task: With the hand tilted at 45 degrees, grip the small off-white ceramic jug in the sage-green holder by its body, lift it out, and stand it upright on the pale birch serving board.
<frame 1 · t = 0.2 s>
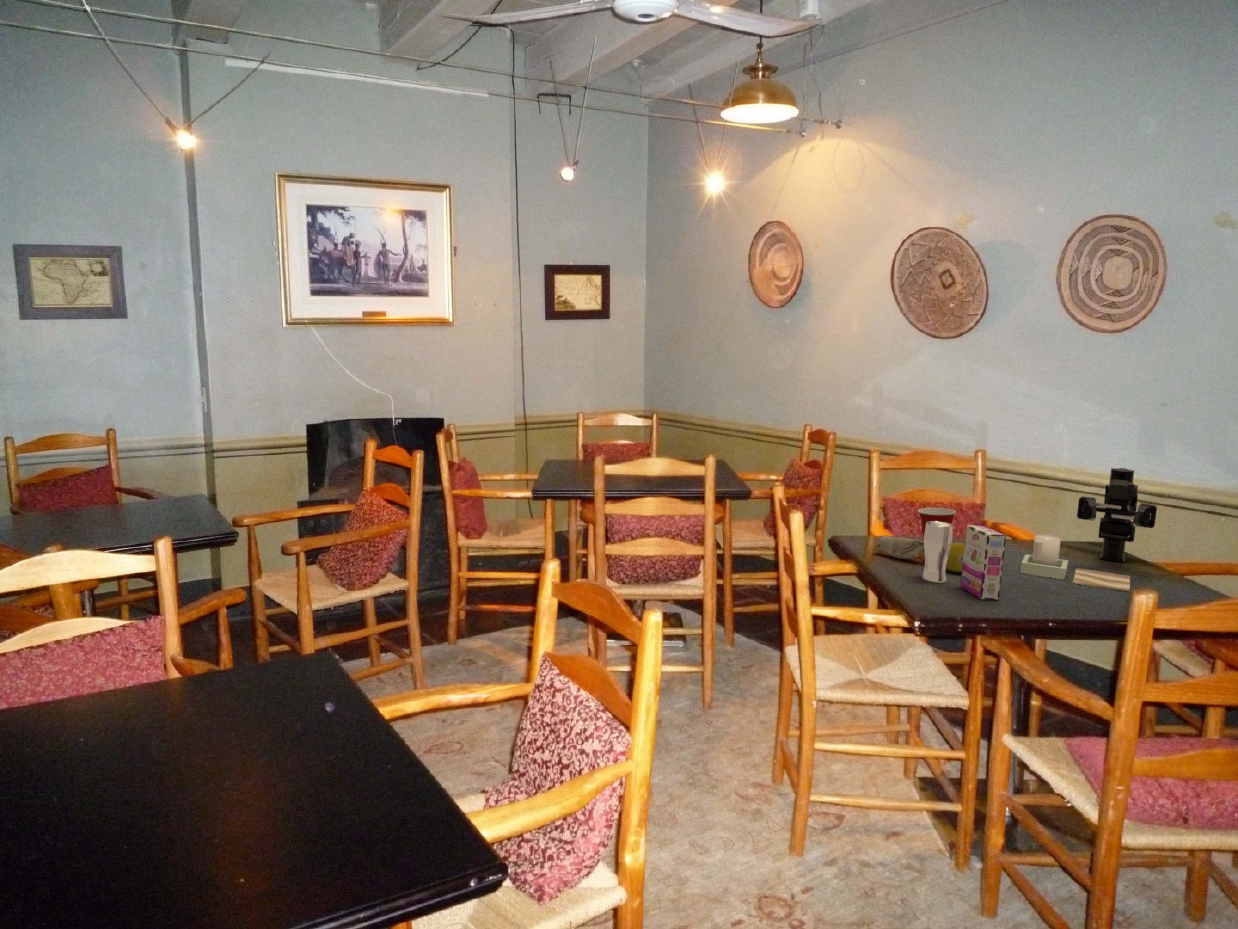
hand: (1114, 518, 232), 17 cm above the table, tool horizontal, fingers open, 9 cm apart
glass holder: (1043, 572, 239), on the table
candy bar box: (979, 594, 216), on the table
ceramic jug: (1044, 554, 237), in the glass holder
serving board: (1101, 580, 232), on the table
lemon: (957, 572, 236), on the table
beer glass: (934, 580, 227), on the table
plastic cup: (933, 549, 261), on the table
decorative bird: (901, 560, 247), on the table
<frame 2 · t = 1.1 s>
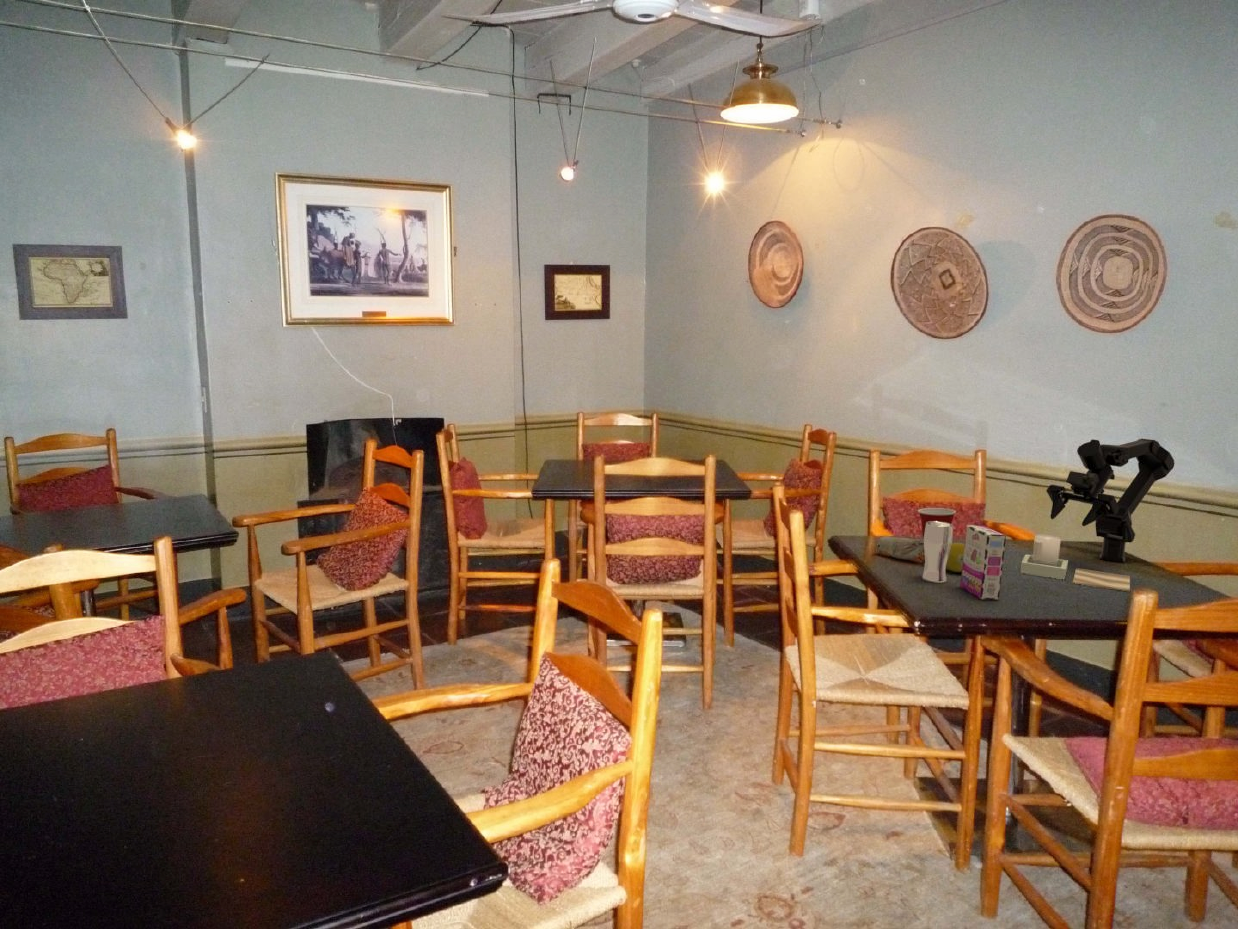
hand: (1066, 521, 240), 14 cm above the table, tool tilted 45°, fingers open, 9 cm apart
nothing on the table moved.
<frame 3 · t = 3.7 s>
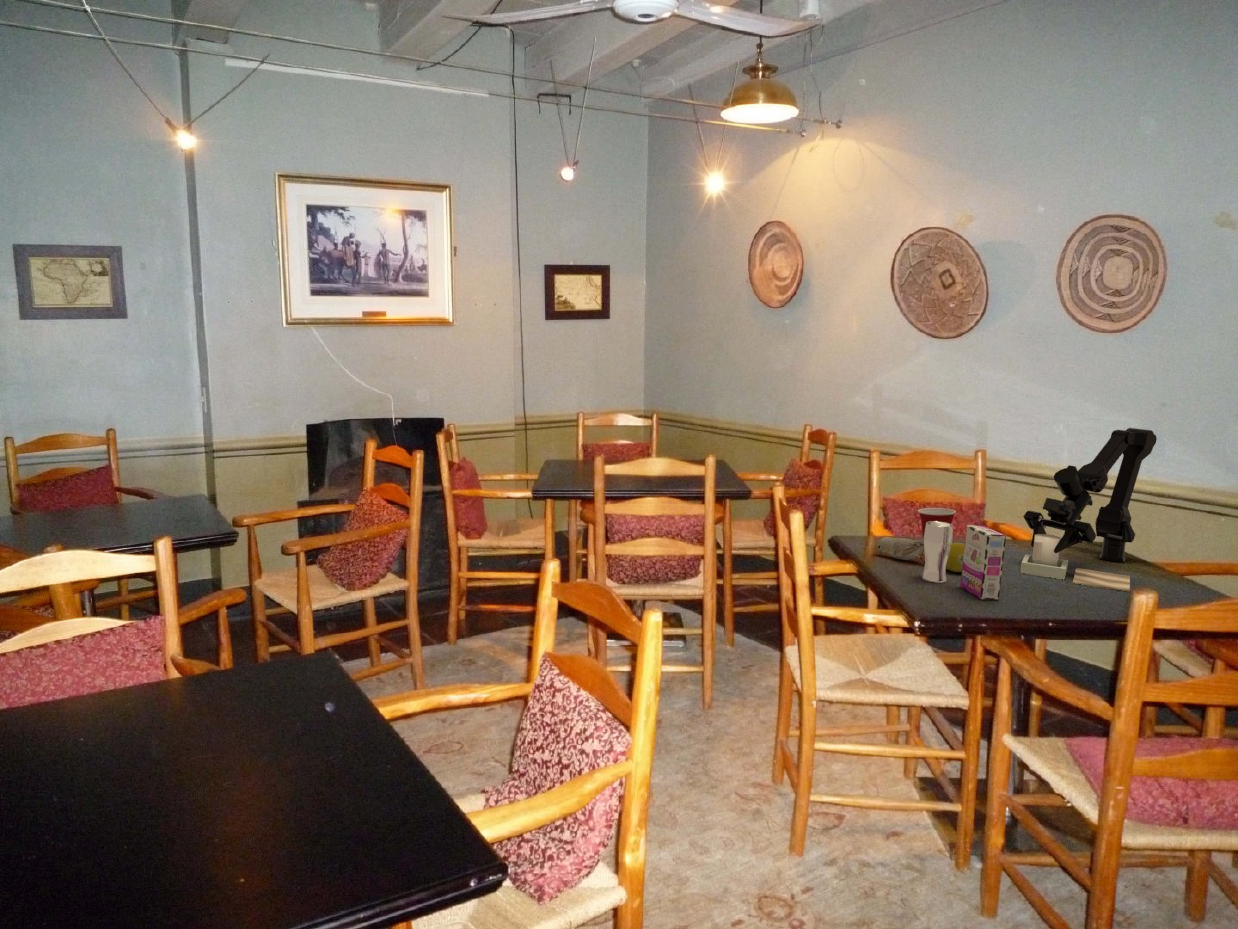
hand: (1043, 549, 237), 7 cm above the table, tool tilted 45°, fingers closed on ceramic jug, 6 cm apart
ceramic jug: (1044, 554, 237), in the glass holder, touching gripper
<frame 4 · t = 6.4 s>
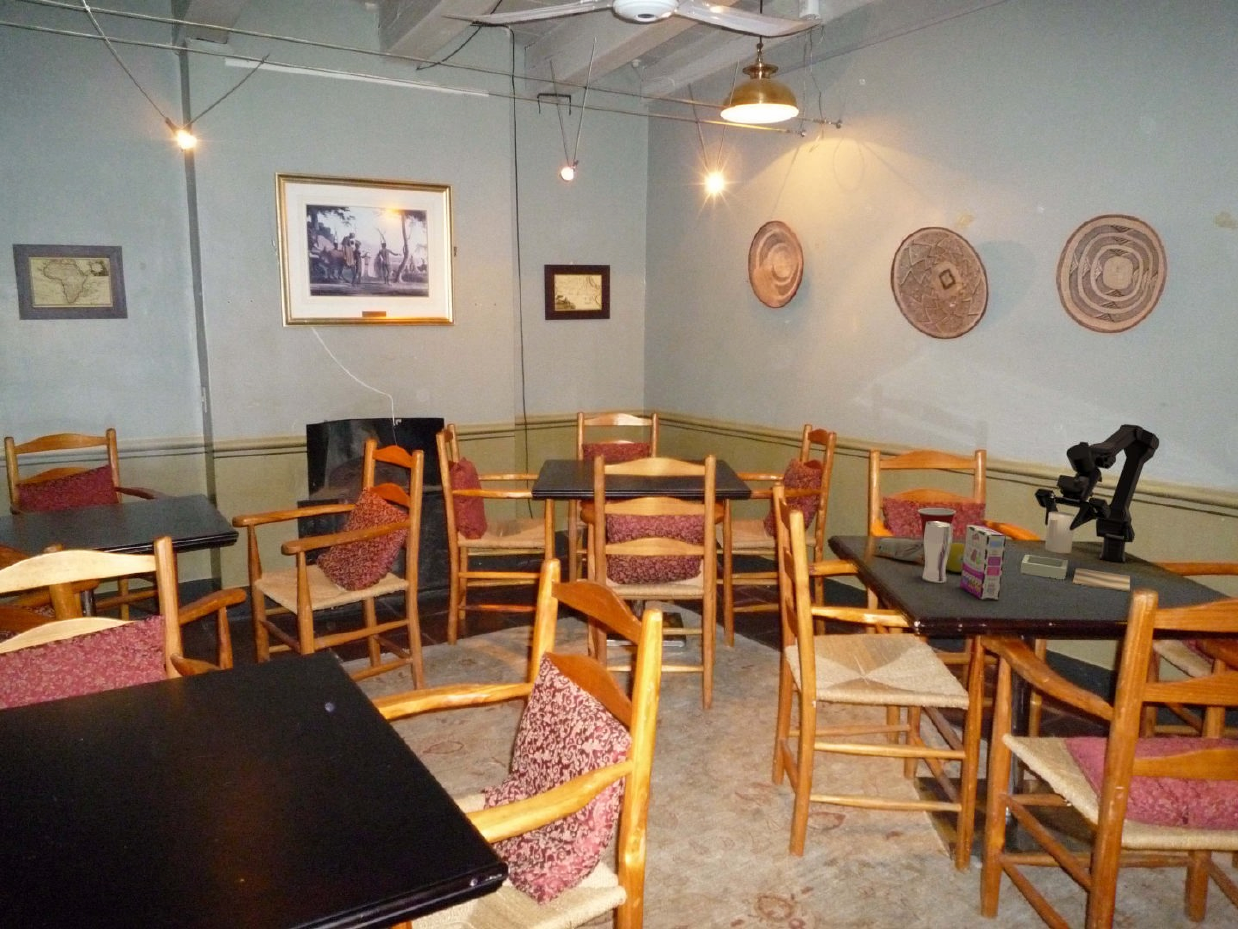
hand: (1058, 526, 234), 13 cm above the table, tool tilted 45°, fingers closed on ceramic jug, 6 cm apart
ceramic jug: (1058, 532, 234), point 12 cm above the table, touching gripper
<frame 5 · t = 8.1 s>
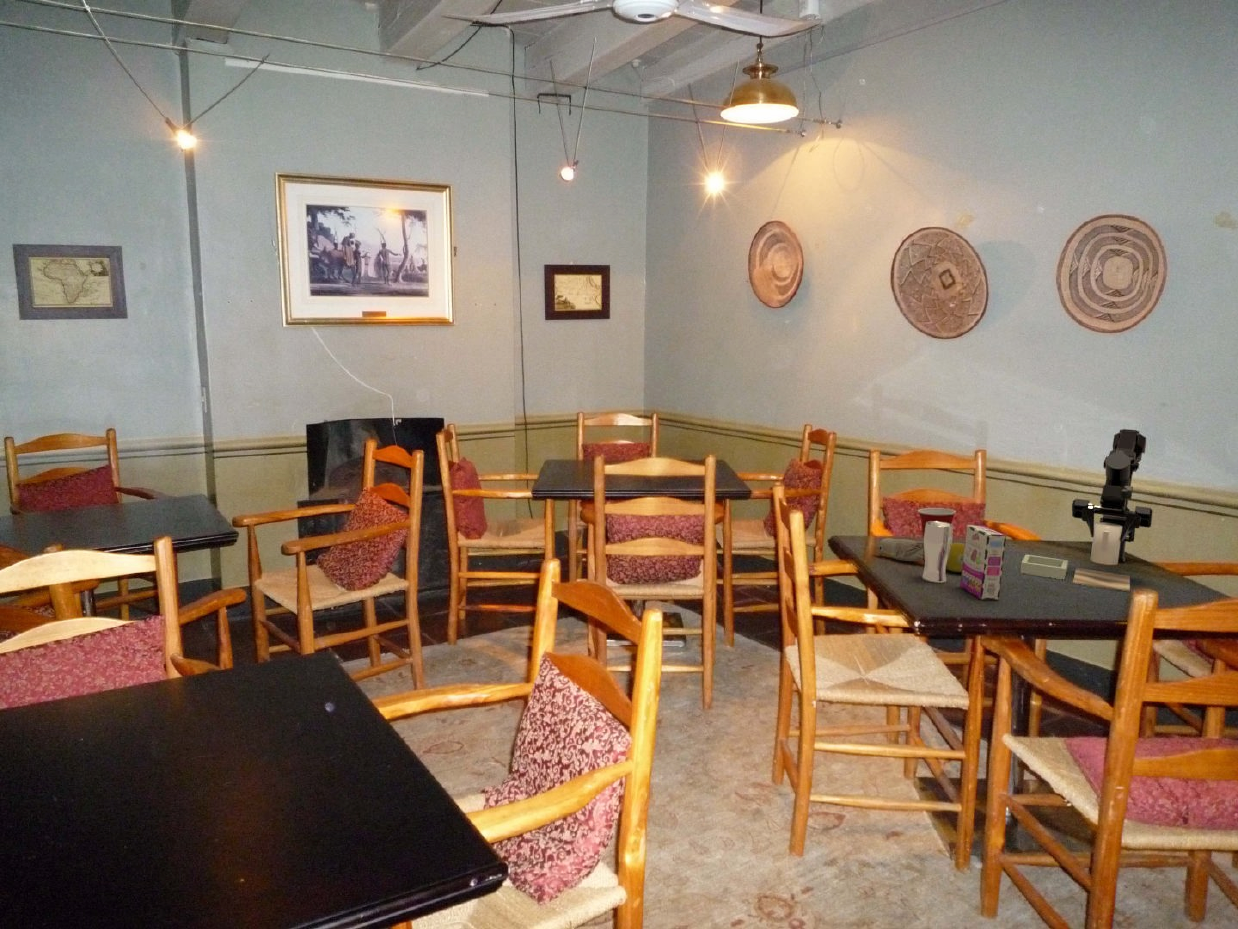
hand: (1106, 538, 229), 12 cm above the table, tool tilted 45°, fingers closed on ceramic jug, 6 cm apart
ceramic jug: (1105, 543, 229), point 10 cm above the table, touching gripper
when the fingers open (8 cm above the table, at t = 9.3 s): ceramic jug drops 1 cm, resting on serving board.
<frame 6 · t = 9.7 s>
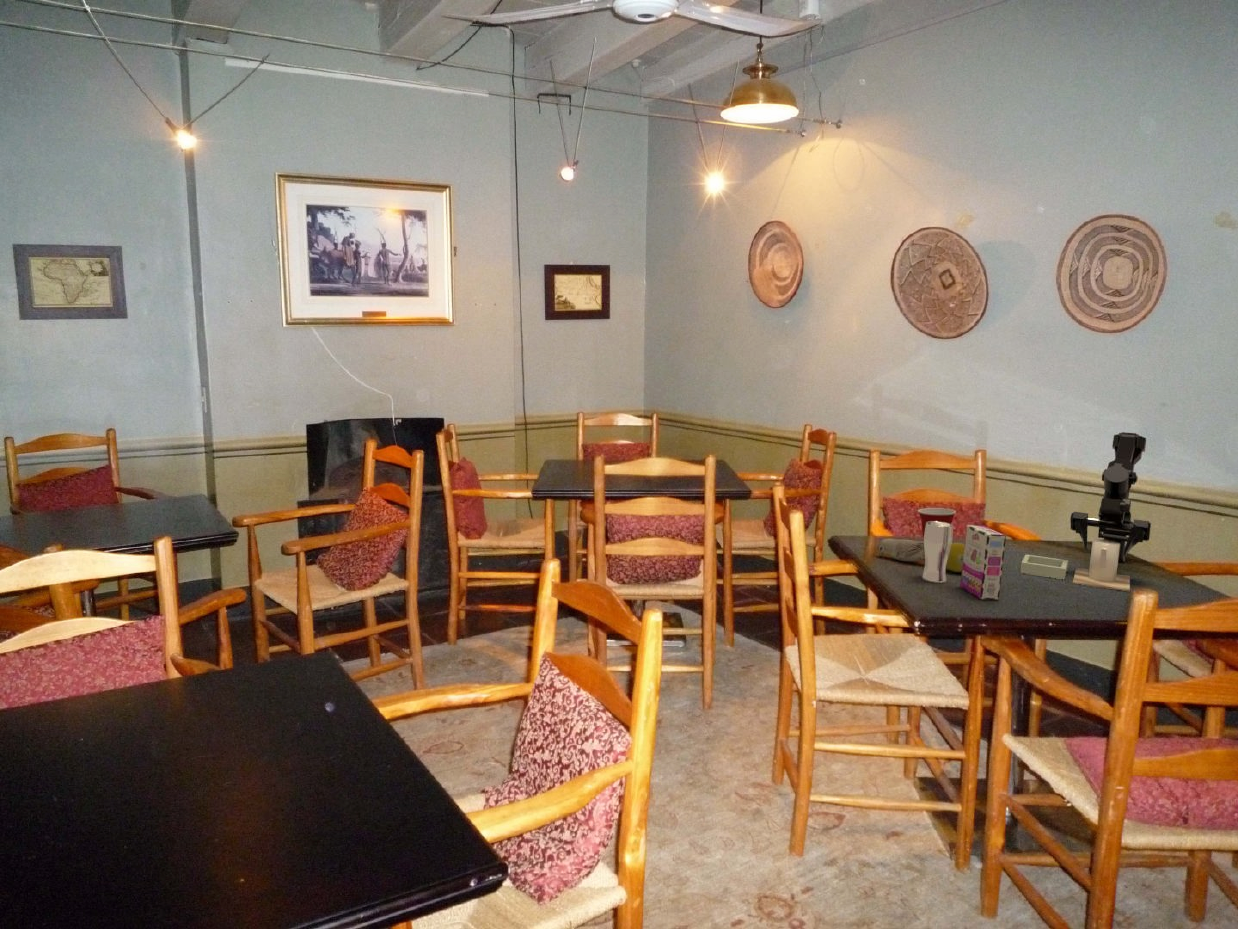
hand: (1104, 551, 229), 8 cm above the table, tool tilted 45°, fingers open, 9 cm apart
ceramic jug: (1103, 561, 230), on the serving board, point 6 cm above the table
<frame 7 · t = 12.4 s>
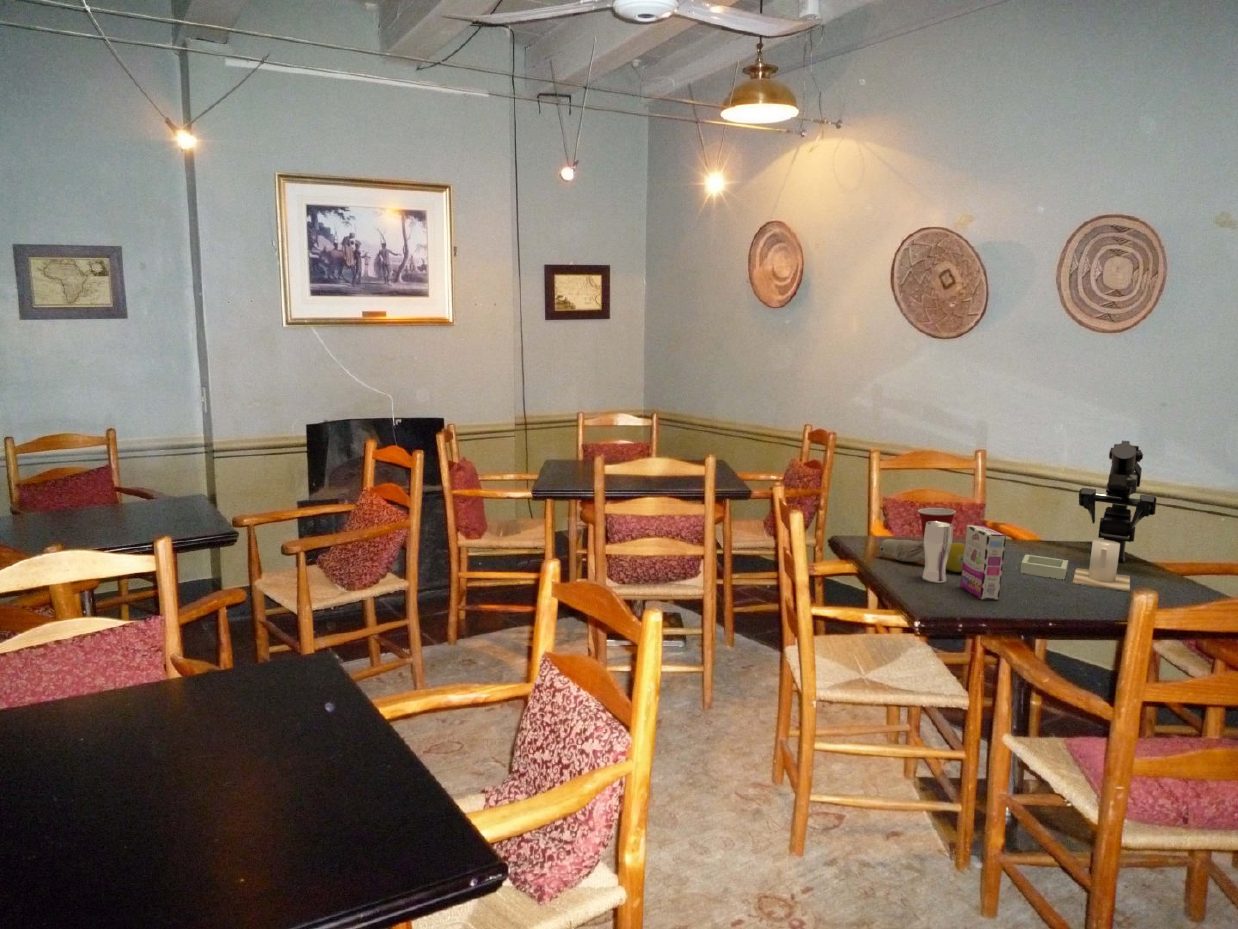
hand: (1112, 525, 238), 13 cm above the table, tool tilted 45°, fingers open, 9 cm apart
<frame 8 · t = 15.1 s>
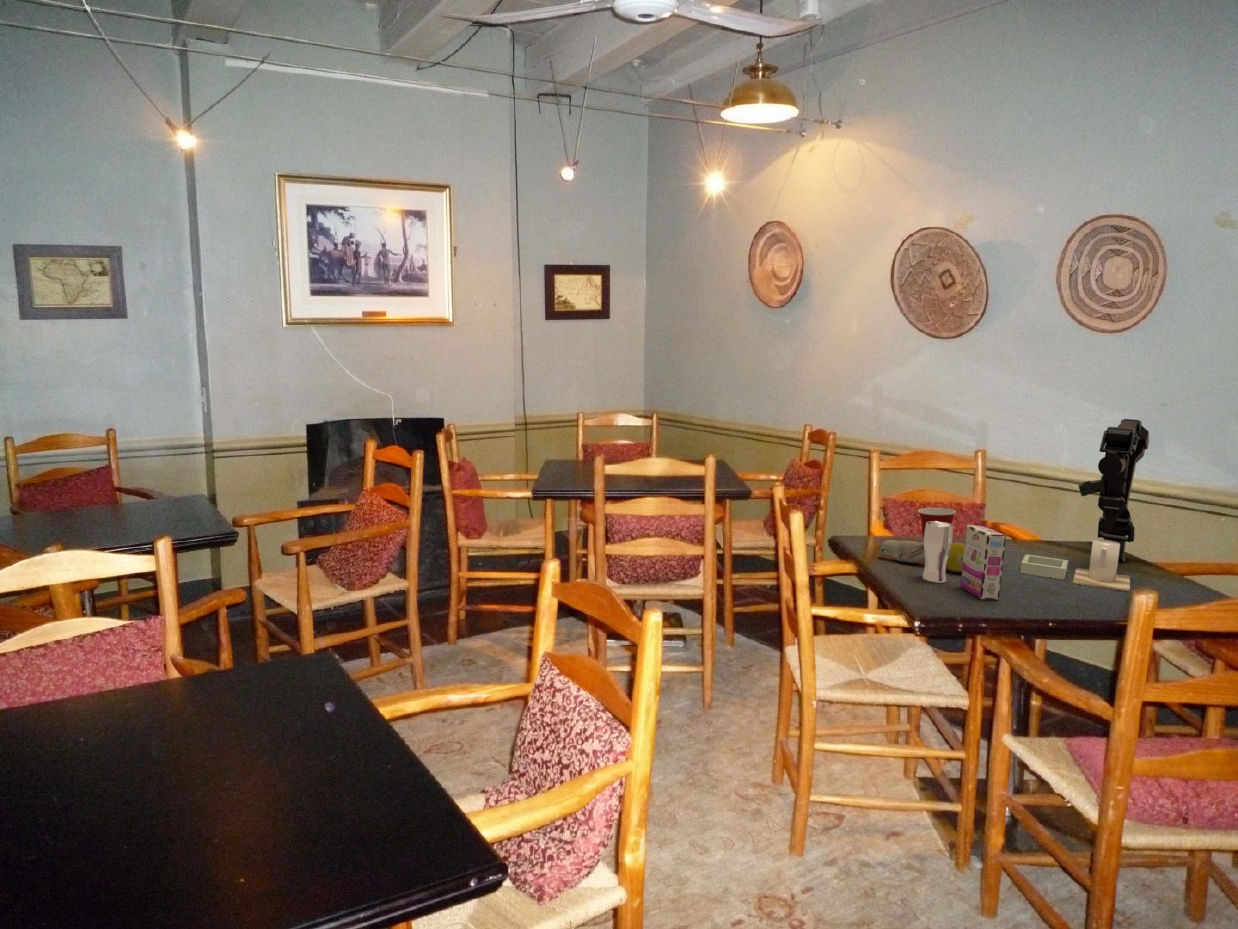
hand: (1108, 527, 242), 12 cm above the table, tool pointing down, fingers open, 9 cm apart
at the end: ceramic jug inside the target area on the serving board (0.1 cm from its centre), point 5.6 cm above the serving board's base; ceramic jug tilted 0°; the gripper is holding nothing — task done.
